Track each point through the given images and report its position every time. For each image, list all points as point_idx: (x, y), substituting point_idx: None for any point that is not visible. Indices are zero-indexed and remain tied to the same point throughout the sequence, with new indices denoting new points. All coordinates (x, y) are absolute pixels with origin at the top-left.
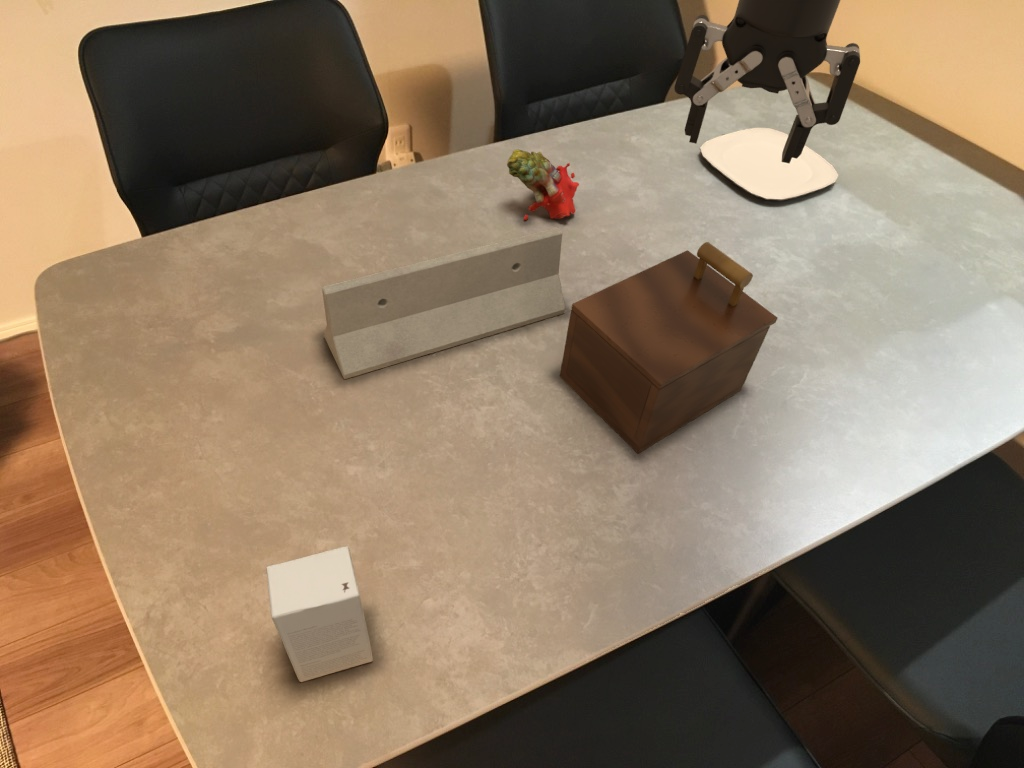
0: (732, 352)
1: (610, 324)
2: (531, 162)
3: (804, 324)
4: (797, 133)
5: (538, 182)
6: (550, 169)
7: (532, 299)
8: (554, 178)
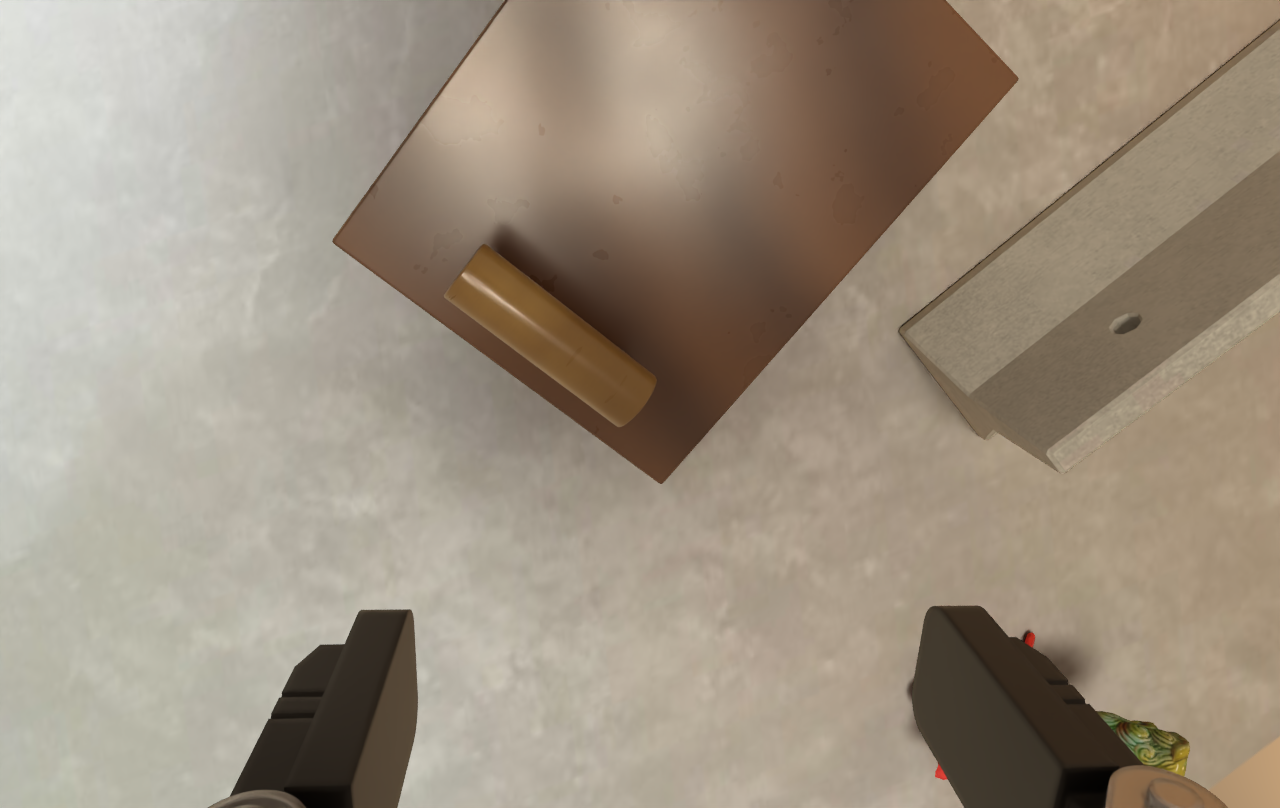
0: None
1: (888, 10)
2: None
3: (274, 498)
4: (331, 746)
5: None
6: None
7: (1011, 304)
8: None
